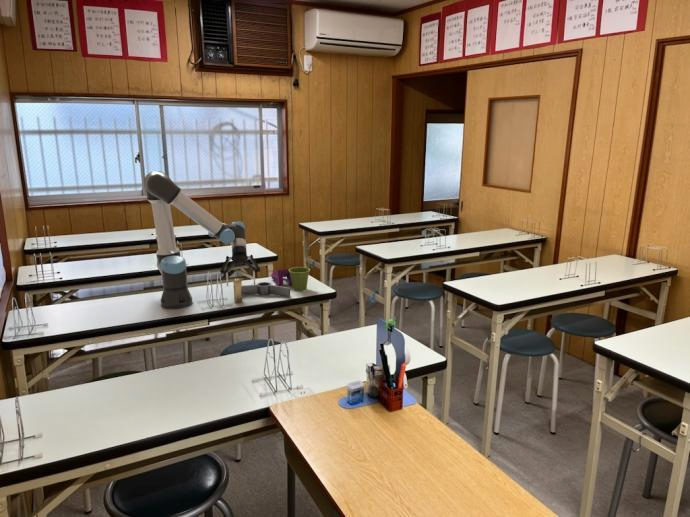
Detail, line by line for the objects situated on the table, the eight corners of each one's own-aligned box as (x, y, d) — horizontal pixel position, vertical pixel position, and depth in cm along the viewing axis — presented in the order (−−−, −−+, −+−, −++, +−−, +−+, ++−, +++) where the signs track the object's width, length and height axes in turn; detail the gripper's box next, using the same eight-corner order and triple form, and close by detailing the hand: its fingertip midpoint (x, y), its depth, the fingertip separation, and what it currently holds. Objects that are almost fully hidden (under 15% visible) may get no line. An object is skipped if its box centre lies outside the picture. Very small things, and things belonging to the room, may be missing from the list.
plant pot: (314, 287, 277) (314, 268, 274) (303, 294, 267) (303, 273, 264) (296, 284, 282) (295, 265, 279) (284, 290, 272) (284, 271, 269)
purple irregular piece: (271, 290, 291) (279, 285, 275) (269, 276, 293) (277, 270, 276) (287, 288, 295) (295, 283, 279) (284, 274, 296) (293, 268, 280)
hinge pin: (233, 303, 252) (232, 280, 249) (235, 300, 256) (234, 278, 253) (241, 303, 252) (240, 280, 249) (243, 300, 256) (242, 278, 252)
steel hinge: (233, 295, 263) (233, 286, 262) (238, 290, 272) (238, 281, 271) (289, 297, 261) (289, 288, 260) (292, 291, 271) (292, 282, 269)
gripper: (262, 251, 271) (265, 286, 261) (215, 253, 266) (216, 289, 256) (262, 243, 265) (265, 279, 255) (214, 246, 260) (215, 282, 250)
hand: (241, 284), depth 255 cm, fingers open, 13 cm apart
